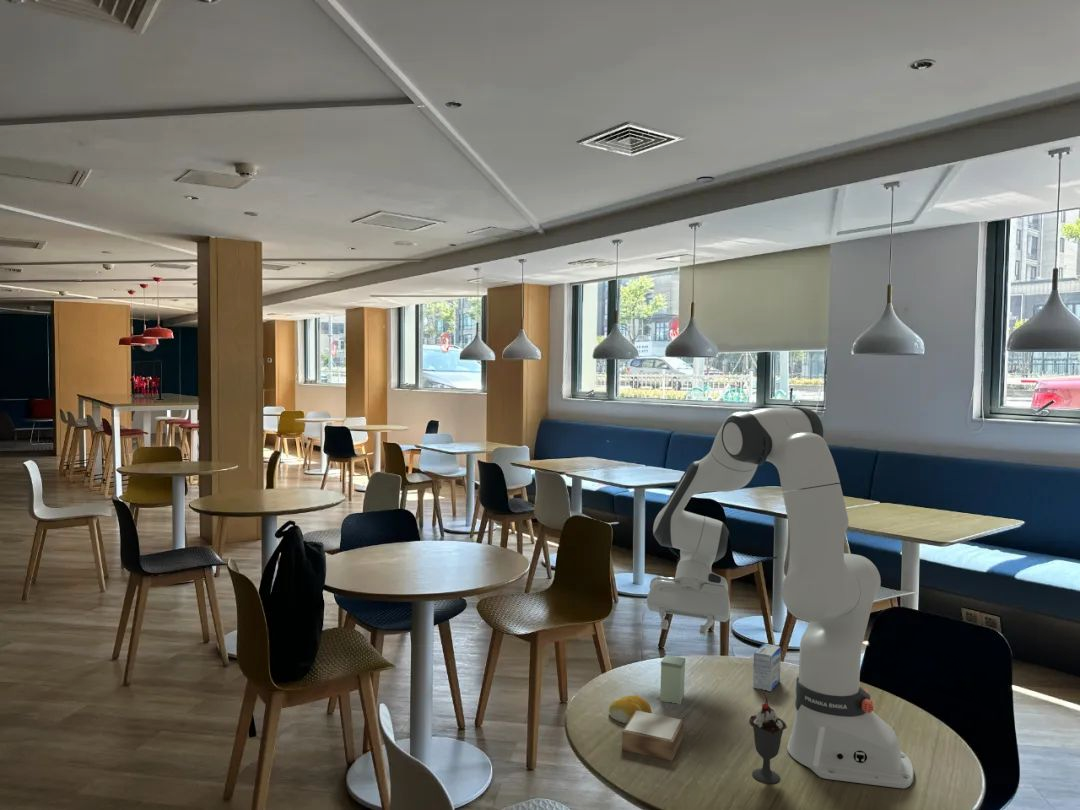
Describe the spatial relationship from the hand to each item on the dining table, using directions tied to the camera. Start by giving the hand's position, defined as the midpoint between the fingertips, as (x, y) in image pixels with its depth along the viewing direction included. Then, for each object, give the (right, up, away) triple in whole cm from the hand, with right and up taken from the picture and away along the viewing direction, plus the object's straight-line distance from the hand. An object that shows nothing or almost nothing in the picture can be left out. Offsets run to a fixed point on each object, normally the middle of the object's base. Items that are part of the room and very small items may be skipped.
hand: (683, 631), depth 176 cm
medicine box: (+20, -13, +1) cm, 24 cm away
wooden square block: (-12, -14, -29) cm, 34 cm away
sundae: (+7, -15, -41) cm, 44 cm away
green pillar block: (-4, -13, -9) cm, 16 cm away
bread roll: (-15, -13, -17) cm, 27 cm away
